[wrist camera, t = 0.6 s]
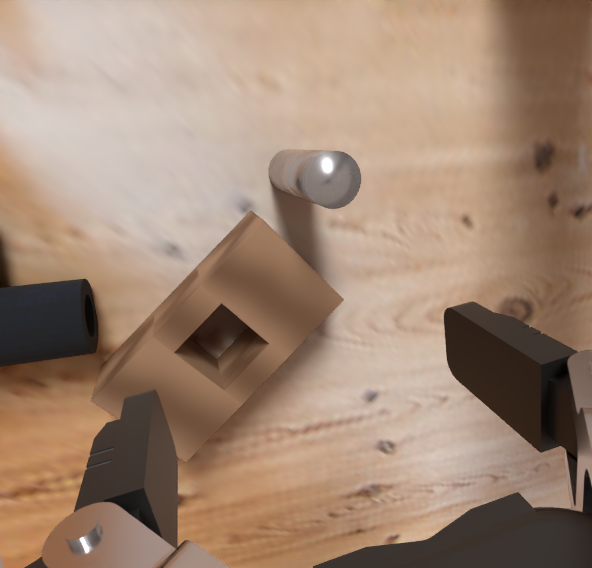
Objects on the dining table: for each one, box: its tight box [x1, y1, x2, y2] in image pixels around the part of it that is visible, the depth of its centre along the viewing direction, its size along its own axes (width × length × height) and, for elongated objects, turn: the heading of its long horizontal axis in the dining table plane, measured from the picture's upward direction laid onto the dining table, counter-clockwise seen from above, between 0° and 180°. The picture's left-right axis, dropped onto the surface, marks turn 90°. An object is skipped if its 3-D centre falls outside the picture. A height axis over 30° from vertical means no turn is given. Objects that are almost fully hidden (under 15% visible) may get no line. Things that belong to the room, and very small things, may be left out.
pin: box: [269, 150, 361, 209], centre depth 29 cm, size 3×3×10 cm
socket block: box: [91, 211, 344, 462], centre depth 33 cm, size 16×8×5 cm, turn 135°
